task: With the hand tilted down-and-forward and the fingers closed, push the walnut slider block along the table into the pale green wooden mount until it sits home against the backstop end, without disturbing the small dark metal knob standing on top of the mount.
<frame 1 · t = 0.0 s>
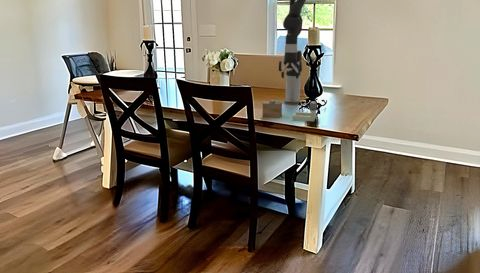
hand: (289, 78, 257), 17 cm above the table, tool pointing down, fingers open, 8 cm apart
knob: (313, 109, 224), point 6 cm above the table, touching mount
slider block: (272, 116, 235), on the table
mount: (299, 118, 231), on the table
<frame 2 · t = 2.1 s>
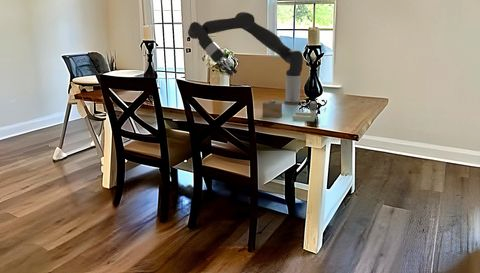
hand: (234, 73, 234), 23 cm above the table, tool tilted 45°, fingers open, 8 cm apart
nothing on the table moved.
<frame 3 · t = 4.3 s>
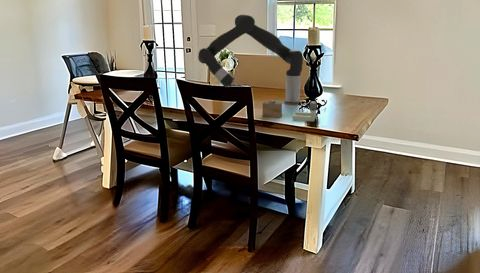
hand: (245, 99, 237), 9 cm above the table, tool tilted 45°, fingers closed
nothing on the table moved.
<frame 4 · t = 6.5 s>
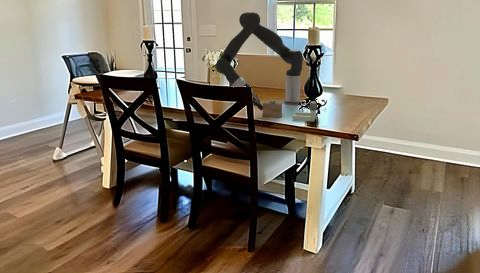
hand: (262, 109, 235), 4 cm above the table, tool tilted 45°, fingers closed
slider block: (272, 116, 235), on the table, touching gripper
everything else where it was.
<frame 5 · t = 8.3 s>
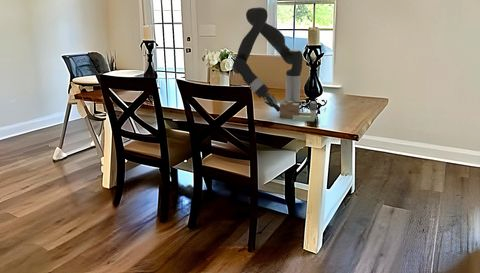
hand: (279, 110, 233), 4 cm above the table, tool tilted 45°, fingers closed
slider block: (289, 117, 232), on the table, touching gripper
everything else where it was.
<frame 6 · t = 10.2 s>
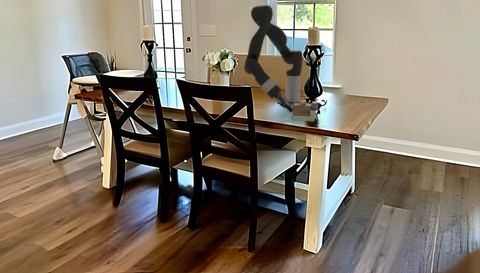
hand: (292, 111, 230), 4 cm above the table, tool tilted 45°, fingers closed
knob: (314, 109, 224), point 6 cm above the table, touching mount, slider block
slider block: (302, 118, 230), on the table, touching gripper, knob
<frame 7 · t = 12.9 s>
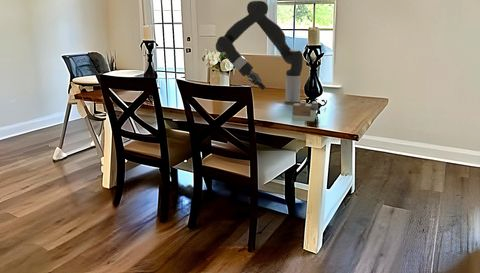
hand: (264, 88, 232), 16 cm above the table, tool tilted 45°, fingers closed
knob: (314, 109, 224), point 6 cm above the table, touching mount
slider block: (302, 118, 230), on the table
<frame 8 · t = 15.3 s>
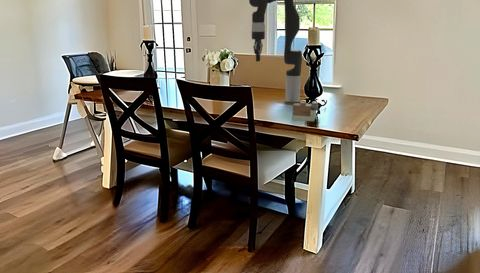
hand: (258, 61, 242), 29 cm above the table, tool pointing down, fingers closed
nothing on the table moved.
at the end: slider block 1.8 cm off-centre on the mount, point 0.0 cm above the mount's base; slider block tilted 0°; knob moved 0.8 cm from its start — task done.
